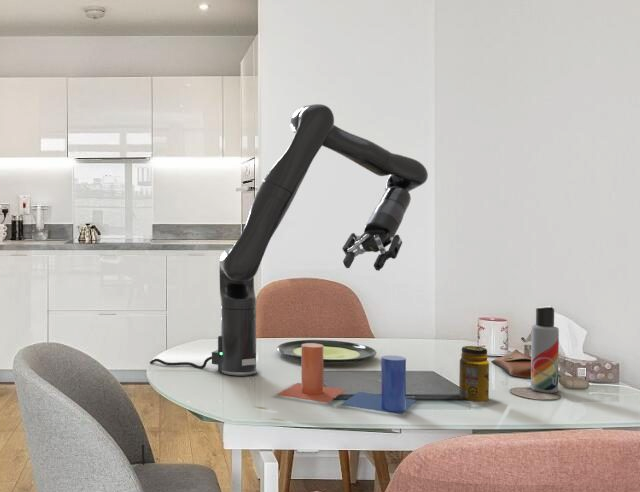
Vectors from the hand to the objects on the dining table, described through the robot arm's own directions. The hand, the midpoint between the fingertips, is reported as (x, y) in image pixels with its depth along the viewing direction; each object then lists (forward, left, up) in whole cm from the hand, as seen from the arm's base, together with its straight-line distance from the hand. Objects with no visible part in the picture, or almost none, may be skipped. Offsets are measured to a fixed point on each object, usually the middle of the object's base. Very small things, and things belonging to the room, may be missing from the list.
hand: (360, 267), depth 180 cm
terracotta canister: (-6, -19, -28) cm, 34 cm away
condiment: (+26, -5, -29) cm, 39 cm away
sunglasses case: (+31, +34, -29) cm, 55 cm away
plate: (-17, +22, -29) cm, 40 cm away
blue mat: (+10, -19, -29) cm, 36 cm away
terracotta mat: (-6, -19, -29) cm, 35 cm away
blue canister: (+14, -23, -28) cm, 39 cm away
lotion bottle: (+39, +15, -29) cm, 51 cm away
